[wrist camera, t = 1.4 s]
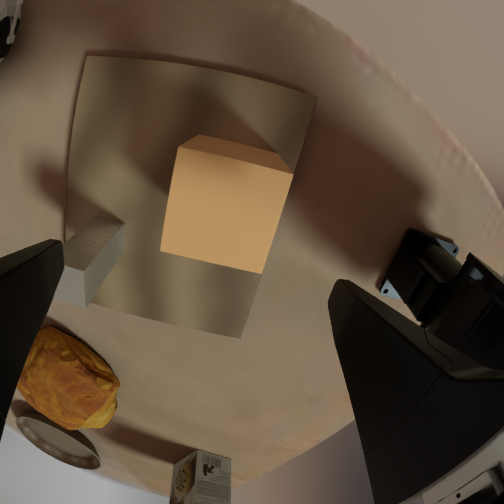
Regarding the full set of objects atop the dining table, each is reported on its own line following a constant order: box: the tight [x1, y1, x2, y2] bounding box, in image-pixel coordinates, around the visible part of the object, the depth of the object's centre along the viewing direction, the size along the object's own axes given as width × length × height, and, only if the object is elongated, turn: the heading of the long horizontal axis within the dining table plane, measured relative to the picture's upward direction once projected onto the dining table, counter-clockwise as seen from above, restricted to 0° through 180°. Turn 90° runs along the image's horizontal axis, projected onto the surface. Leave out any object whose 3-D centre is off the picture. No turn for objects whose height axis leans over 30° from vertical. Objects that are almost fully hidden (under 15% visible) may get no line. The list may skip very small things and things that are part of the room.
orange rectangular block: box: [160, 134, 294, 274], centre depth 17 cm, size 5×5×7 cm
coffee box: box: [169, 450, 231, 504], centre depth 33 cm, size 9×6×16 cm
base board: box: [66, 56, 317, 338], centre depth 21 cm, size 16×20×1 cm
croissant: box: [17, 326, 120, 430], centre depth 27 cm, size 14×16×8 cm
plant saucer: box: [16, 413, 102, 470], centre depth 38 cm, size 18×18×3 cm
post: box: [53, 216, 125, 308], centre depth 18 cm, size 3×3×7 cm
